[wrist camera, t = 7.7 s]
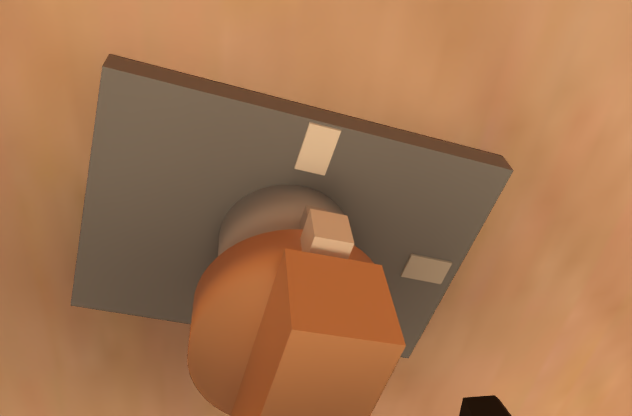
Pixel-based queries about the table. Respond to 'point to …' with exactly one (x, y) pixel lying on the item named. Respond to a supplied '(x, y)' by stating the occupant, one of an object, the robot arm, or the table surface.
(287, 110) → the post base
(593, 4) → the table surface
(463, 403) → the robot arm
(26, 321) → the table surface
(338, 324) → the bayonet cap
